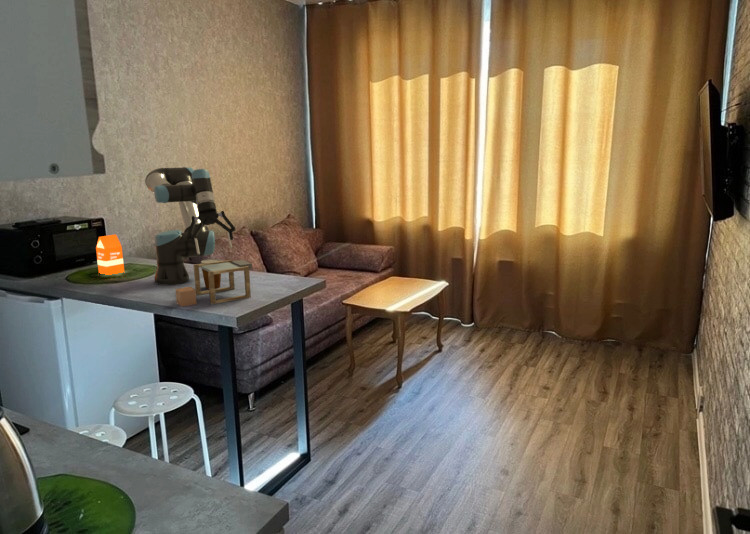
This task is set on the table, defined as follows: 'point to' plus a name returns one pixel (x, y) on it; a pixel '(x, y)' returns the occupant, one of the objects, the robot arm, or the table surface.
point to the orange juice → (109, 255)
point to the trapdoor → (227, 265)
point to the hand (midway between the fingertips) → (214, 250)
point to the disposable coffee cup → (216, 276)
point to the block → (186, 296)
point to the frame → (213, 290)
